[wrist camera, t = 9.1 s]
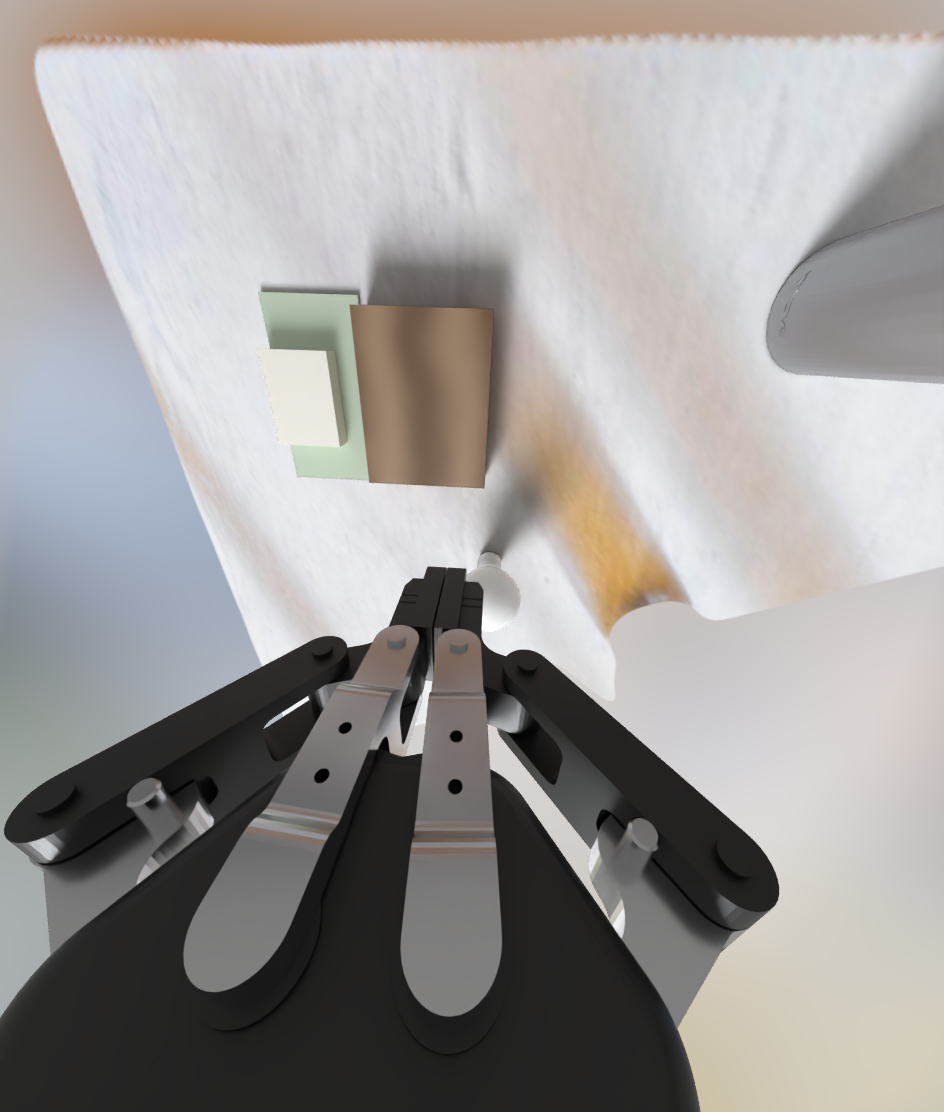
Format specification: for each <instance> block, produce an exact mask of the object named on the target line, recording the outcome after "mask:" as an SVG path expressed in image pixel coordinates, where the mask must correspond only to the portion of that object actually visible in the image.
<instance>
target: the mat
mask: <svg viewBox="0 0 944 1112" xmlns="http://www.w3.org/2000/svg"><path fill="white" fill-rule="evenodd" d="M258 294H259V298H260V303H261V308H262V312H263V317H264V322H265V327H266V331H267V336H268V341H269V345H270V349H286V350H313V351H335V355H336V362H337V369H338V377H339V384H340V391H341V399H342V406H343V413H344V421H345V428H346V435H347V443H346V444H345V445H343V446H341V447H325V446H304V445H291V449H292V454H293V458H294V463H295V468H296V473H297V477H308V478H328V479H348V480H367V481H369V476H368V467H367V458H366V449H365V440H364V431H363V422H362V413H361V404H360V395H359V386H358V377H357V368H356V359H355V350H354V342H353V333H352V324H351V315H350V306H349V304H351V305H360V303H359V296H358V295H340V294H310V293H279V292H258Z"/></svg>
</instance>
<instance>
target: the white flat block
mask: <svg viewBox="0 0 944 1112" xmlns="http://www.w3.org/2000/svg"><path fill="white" fill-rule="evenodd" d="M257 352H258V356H259V360H260V365H261V369H262V373H263V378H264V382H265V386H266V391H267V395H268V400H269V404H270V408H271V413H272V417H273V421H274V426H275V430H276V435H277V439H278V443H279V444H282V445H304V446H325V447H341V446H343V445H345V444H346V443H347V435H346V428H345V421H344V413H343V406H342V399H341V391H340V384H339V377H338V369H337V362H336V355H335V351H313V350H286V349H257Z"/></svg>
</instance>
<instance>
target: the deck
mask: <svg viewBox="0 0 944 1112" xmlns="http://www.w3.org/2000/svg"><path fill="white" fill-rule="evenodd" d="M349 306H350V315H351V324H352V333H353V342H354V350H355V359H356V368H357V377H358V386H359V395H360V404H361V413H362V422H363V431H364V440H365V449H366V458H367V467H368V476H369V483H388V484H407V485H427V486H446V487H466V488H484V485H485V472H486V453H487V433H488V414H489V395H490V376H491V357H492V338H493V319H494V311H493V309H471V308H441V307H411V306H381V305H351V304H349Z"/></svg>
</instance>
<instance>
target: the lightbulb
mask: <svg viewBox="0 0 944 1112" xmlns="http://www.w3.org/2000/svg"><path fill="white" fill-rule="evenodd" d="M466 581H468V582H479V583H480V585H481V587H482V588H483V590H484V595H483V614H482V631H486V632H491V631H497V630H500V629H502V628H504V627H506V626H507V625H509V624H510V623H511V622H512V621H513V619H514V618H515V617H516V615H517V613H518V610H519V607H520V591H519V588H518V586H517V584H516V582H515V580H514V579H513V578H512V577H511V576H510V575H509V574H508V573H507V572H505V571H503V570H502V569H501V560H500V558H499V556H498V555H497V554H495V553H492V552H487V553H484V554H482V555H481V556H480V557H479V559H478V565H477V569H475V570H473V571H471V572H470V573H468V574H467V575H466Z"/></svg>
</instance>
